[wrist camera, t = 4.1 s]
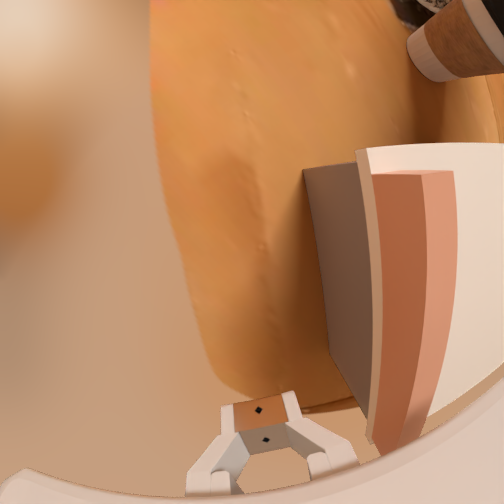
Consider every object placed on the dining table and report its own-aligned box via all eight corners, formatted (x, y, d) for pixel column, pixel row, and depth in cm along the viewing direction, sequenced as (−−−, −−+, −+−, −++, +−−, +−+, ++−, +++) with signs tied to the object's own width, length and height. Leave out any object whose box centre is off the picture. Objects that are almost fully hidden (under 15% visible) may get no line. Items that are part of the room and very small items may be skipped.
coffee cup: (464, 87, 18) (563, 69, 4) (423, 100, 19) (548, 72, 4) (428, 24, 16) (514, -19, 2) (381, 27, 17) (477, -41, 2)
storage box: (447, 152, 20) (525, 152, 11) (450, 304, 25) (508, 344, 15) (302, 169, 20) (366, 161, 10) (329, 354, 24) (371, 428, 14)
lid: (526, 145, 10) (564, 148, 6) (509, 346, 15) (534, 365, 11) (354, 150, 10) (415, 139, 6) (365, 435, 14) (385, 475, 11)
